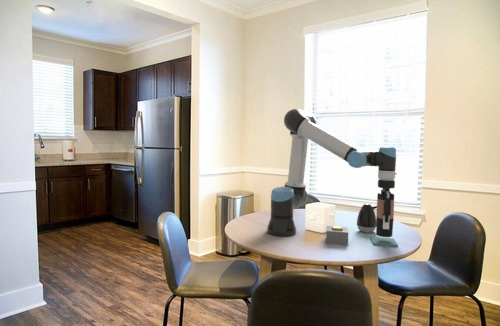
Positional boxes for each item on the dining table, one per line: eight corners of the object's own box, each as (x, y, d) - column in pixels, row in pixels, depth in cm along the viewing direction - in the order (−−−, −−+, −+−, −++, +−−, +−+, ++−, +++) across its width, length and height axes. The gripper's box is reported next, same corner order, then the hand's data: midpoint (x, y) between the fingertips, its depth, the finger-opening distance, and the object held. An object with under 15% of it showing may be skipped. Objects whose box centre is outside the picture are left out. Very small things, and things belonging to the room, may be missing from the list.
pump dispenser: (378, 234, 181) (379, 206, 180) (357, 233, 183) (358, 205, 182) (375, 229, 191) (376, 202, 190) (355, 228, 193) (356, 201, 192)
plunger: (332, 240, 167) (333, 227, 166) (332, 237, 170) (332, 225, 170) (341, 240, 166) (341, 228, 165) (340, 238, 170) (341, 226, 169)
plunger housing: (326, 243, 164) (326, 230, 164) (326, 237, 174) (326, 225, 174) (348, 245, 162) (348, 232, 162) (346, 239, 172) (347, 227, 171)
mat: (373, 245, 163) (373, 243, 163) (370, 238, 174) (370, 236, 174) (398, 247, 161) (398, 245, 160) (393, 240, 171) (393, 238, 171)
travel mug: (391, 238, 162) (392, 195, 160) (374, 235, 166) (375, 194, 164) (394, 234, 168) (395, 193, 167) (377, 232, 172) (379, 192, 171)
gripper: (399, 182, 154) (396, 232, 156) (391, 177, 174) (389, 222, 176) (381, 181, 156) (379, 231, 157) (375, 176, 176) (373, 221, 177)
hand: (384, 226), depth 167 cm, fingers closed on travel mug, 8 cm apart
